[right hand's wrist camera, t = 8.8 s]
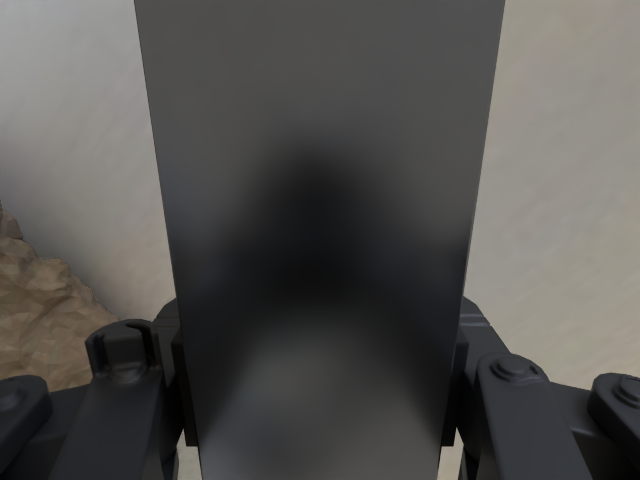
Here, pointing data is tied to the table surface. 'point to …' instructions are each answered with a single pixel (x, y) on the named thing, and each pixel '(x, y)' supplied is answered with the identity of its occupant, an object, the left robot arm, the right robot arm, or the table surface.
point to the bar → (319, 221)
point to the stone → (43, 314)
